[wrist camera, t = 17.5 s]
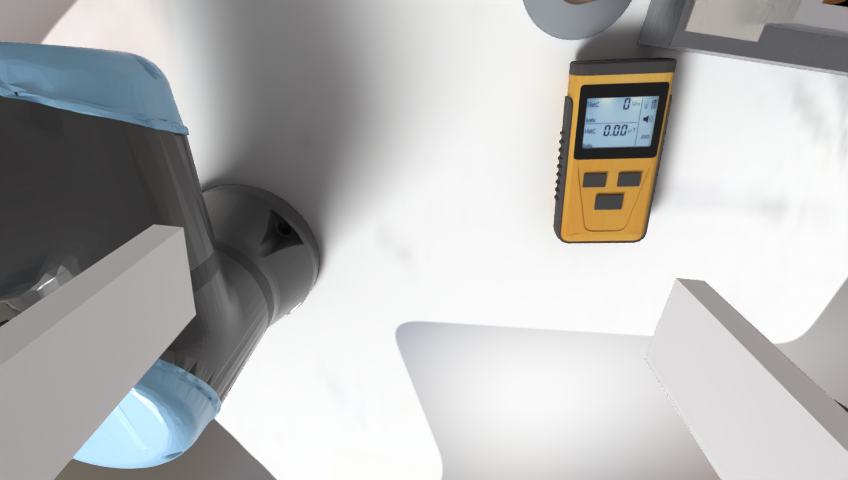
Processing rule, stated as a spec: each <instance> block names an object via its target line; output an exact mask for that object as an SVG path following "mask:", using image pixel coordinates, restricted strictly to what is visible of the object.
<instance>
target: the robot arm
mask: <svg viewBox="0 0 848 480" xmlns="http://www.w3.org/2000/svg"><path fill="white" fill-rule="evenodd" d="M187 135H189V131H188V129H187V127H186V126H184V125H183V123H182V120H181V117H180V114H179V111H178V109H177V106H176V103H175V100H174V97H173V94H172V91H171V88H170V85H169V82H168V80H167V78H166V76H165V75H164V73H163V72H162V71H161V70H160V69H159V68H158V67H157V66H156V65H155V64H154V63H152V62H151V61H149V60H148V59H146V58H144V57H142V56H139V55H136V54H132V53H127V52H120V51H112V50H103V49H93V48H82V47H70V46H58V45H44V44H29V43H14V42H0V302H2V301H5V302H6V304H7V305H8V307H9V309H10V311H11V313H12V314H13V316H14V318H13V319H12V320H5V321H3V322H0V480H54V479H55V477H56V476H57V475H58V474H59V473H60V471H61V470H62V469H63V468H64V467H65V466H66V465H67V464H68V462H69V461H70V460H71V459H72V458H73V459H76V460H79V461H82V462H86V463H90V464H95V465H99V466H105V467H112V468H144V467H151V466H156V465H159V464H163V463H166V462H168V461H170V460H173V459H175V458H176V457H178V456H180V455H181V454H182V453H183V452H184V451H186V450H187V449H188V448H189V447H190V446H191V445H192V444H193V443H194V442H195V441H196V439H197V438H198V437H199V435H200V434H201V432H202V431H203V430H204V428H205V427H206V426H207V424H208V423H209V422H210V421H211V420H212V419H213V418H215V417H216V416H217V414H218V413H219V411H220V407H221V404H222V402H223V401H224V399H225V397H226V396H227V394H228V392H229V391H230V389H231V387H232V386H233V384H234V382H235V381H236V379H237V377H238V376H239V374H240V372H241V371H242V369H243V367H244V366H245V364H246V362H247V361H248V359H249V357H250V356H251V354H252V352H253V351H254V349H255V348H256V346H257V344H258V343H259V341H260V339H261V338H262V336H263V334H264V333H265V331H266V330H267V328H268V327H269V326H271V325H272V324H274V323H275V322H276V321H278V320H279V319H281V318H283V317H285V316H286V315H288V314H290V313H291V312H293V311H294V310H295V309H297V308H298V307H299V306H300V305H301V304H302V302H303V301H304V300H305V299H306V297H307V296H308V294H309V292H310V290H311V289H312V287H313V285H314V283H315V281H316V278H317V275H318V271H319V251H318V246H317V243H316V240H315V237H314V235H313V233H312V231H311V229H310V227H309V226H308V224H307V223H306V221H305V220H304V219H303V217H302V216H301V215H300V214H299V213H298V212H297V211H296V210H295V209H294V208H293V207H292V206H291V205H289V204H288V203H287V202H285V201H284V200H283V199H281V198H279V197H278V196H276V195H274V194H272V193H270V192H268V191H265V190H263V189H260V188H256V187H252V186H247V185H237V184H231V185H222V186H217V187H214V188H211V189H208V190H206V191H204V192H202V191H201V187H200V183H199V179H198V176H197V172H196V168H195V164H194V160H193V157H192V153H191V149H190V145H189V142H188V138H187ZM644 360H645V361H646V363H647V364H648V366H649V367H650V369H651V371H652V372H653V374H654V375H655V377H656V379H657V380H658V382H659V383H660V385H661V387H662V388H663V390H664V391H665V393H666V394H667V396H668V397H669V399H670V401H671V402H672V404H673V405H674V407H675V408H676V410H677V412H678V413H679V414H680V416H681V418H682V419H683V421H684V422H685V424H686V426H687V427H688V429H689V430H690V432H691V433H692V435H693V436H694V438H695V440H696V441H697V443H698V444H699V446H700V447H701V449H702V450H703V452H704V454H705V455H706V457H707V458H708V460H709V462H710V463H711V465H712V466H713V468H714V469H715V471H716V472H717V474H718V476H719V477H720V478H721V480H848V408H846V407H845V406H843V405H842V404H840V403H839V402H837V401H835V400H834V399H832V398H831V397H830V396H829V395H828V394H827V393H826V392H825V391H824V390H823V389H821V388H820V387H819V386H818V385H817V384H816V383H815V382H814V381H813V380H812V379H810V378H809V377H808V376H807V375H806V374H805V373H804V372H803V371H802V370H801V369H800V368H798V367H797V366H796V365H795V364H794V363H793V362H792V361H791V360H790V359H789V358H788V357H787V356H786V355H784V354H783V353H782V352H781V351H780V350H779V349H778V348H777V347H776V346H775V345H774V344H772V343H771V342H770V341H769V340H768V339H767V338H766V337H765V336H764V335H763V334H762V333H760V332H759V331H758V330H757V329H756V328H755V327H754V326H753V325H752V324H751V323H750V322H749V321H747V320H746V319H745V318H744V317H743V316H742V315H741V314H740V313H739V312H738V311H737V310H735V309H734V308H733V307H732V306H731V305H730V304H729V303H728V302H727V301H726V300H725V299H723V298H722V297H721V296H720V295H719V294H718V293H717V292H716V291H715V290H714V289H713V288H711V287H710V286H709V285H708V284H707V283H706V282H705V281H699V280H690V279H680V278H676V280H675V283H674V285H673V288H672V290H671V293H670V295H669V298H668V300H667V303H666V305H665V307H664V310H663V312H662V315H661V317H660V320H659V322H658V325H657V327H656V330H655V332H654V335H653V337H652V340H651V343H650V345H649V347H648V350H647V352H646V355H645V357H644Z"/></svg>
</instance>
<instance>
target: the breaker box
mask: <svg viewBox="0 0 848 480" xmlns="http://www.w3.org/2000/svg"><path fill="white" fill-rule="evenodd" d="M822 2H823V0H651V2H650V5H649V8H648V12H647V15H646V18H645V21H644V24H643V27H642V30H641V34H640V37H639V40H638V43H637V44H642V45H649V46H655V47H662V48H668V49H675V50H681V51H688V52H694V53H701V54H707V55H714V56H720V57H727V58H733V59H740V60H746V61H753V62H759V63H766V64H772V65H779V66H785V67H792V68H798V69H805V70H811V71H818V72H824V73H831V74H837V75H844V76H848V0H845V1H843V2H840V3H836V4H823V3H822Z"/></svg>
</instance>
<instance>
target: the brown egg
mask: <svg viewBox="0 0 848 480" xmlns="http://www.w3.org/2000/svg"><path fill="white" fill-rule="evenodd" d="M843 1H845V0H823V2H822V3H823V4H836V3H840V2H843Z"/></svg>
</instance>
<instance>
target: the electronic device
mask: <svg viewBox="0 0 848 480" xmlns="http://www.w3.org/2000/svg"><path fill="white" fill-rule="evenodd" d="M675 66H676V59H673V58H638V59H614V60H589V61H572V62H571V63H570V71H569V85H568V96H565V104H564V116H563V127H562V131H561V132H560V134H561V135H562V138H561V140H560V141H559V143H560V144H561V147H560V148H559V152H560V156H559V157H558V160H559V164H558V165H557V167H558V169H559V171H558V172H557V174H556V175H557V176H558V179H557V180H556V183H557V187H556V188H555V191H556V192H557V193H556V195H555V196H554V198H555V199H556V204H555V215H554V226H553V227H554V231H555V233H556V235H557V237H558V238H559V239H560V240H561V241H562V242H565V243H634V242H638V241H640V240H642V239H643V238H644V237H645V235H646V233H647V227H648V222H649V217H650V212H651V206H652V201H653V196H654V192H655V185H656V180H657V176H658V169H659V164H660V160H661V153H662V150H663V149H662V148H663V143H664V137H665V134H666V127H667V122H668V116H669V111H670V106H671V99H672V95H671V94H670V92H671V86H672V81H673V76H674V72H675Z"/></svg>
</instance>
